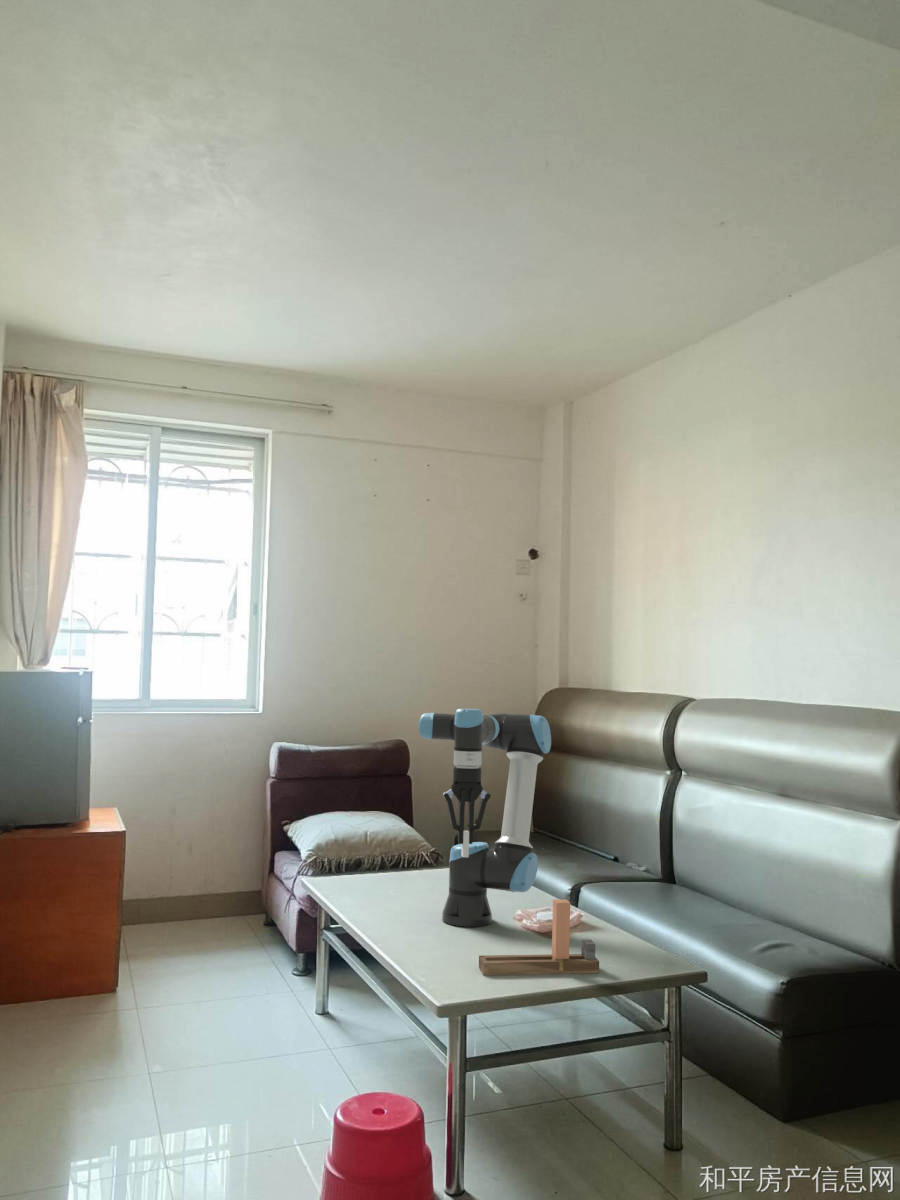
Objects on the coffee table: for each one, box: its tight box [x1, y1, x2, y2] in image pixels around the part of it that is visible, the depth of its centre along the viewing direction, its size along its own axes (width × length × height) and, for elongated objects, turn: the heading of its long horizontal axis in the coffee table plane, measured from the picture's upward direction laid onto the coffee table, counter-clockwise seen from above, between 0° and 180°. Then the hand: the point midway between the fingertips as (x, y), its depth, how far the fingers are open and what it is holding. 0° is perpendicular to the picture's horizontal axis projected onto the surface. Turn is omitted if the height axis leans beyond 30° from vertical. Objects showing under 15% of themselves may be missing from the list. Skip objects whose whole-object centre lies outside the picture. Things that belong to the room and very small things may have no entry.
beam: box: [478, 938, 600, 976], centre depth 236 cm, size 6×30×7 cm, turn 99°
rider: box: [551, 898, 571, 960], centre depth 237 cm, size 4×4×16 cm
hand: (464, 856), depth 246 cm, fingers closed
